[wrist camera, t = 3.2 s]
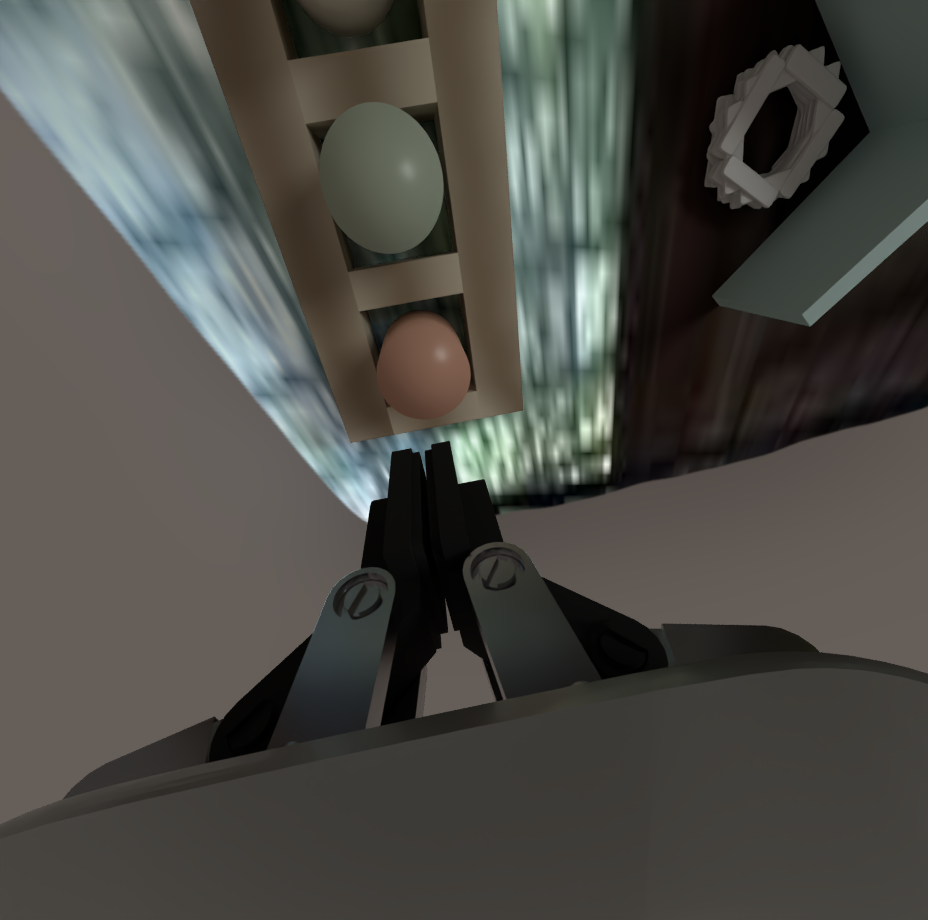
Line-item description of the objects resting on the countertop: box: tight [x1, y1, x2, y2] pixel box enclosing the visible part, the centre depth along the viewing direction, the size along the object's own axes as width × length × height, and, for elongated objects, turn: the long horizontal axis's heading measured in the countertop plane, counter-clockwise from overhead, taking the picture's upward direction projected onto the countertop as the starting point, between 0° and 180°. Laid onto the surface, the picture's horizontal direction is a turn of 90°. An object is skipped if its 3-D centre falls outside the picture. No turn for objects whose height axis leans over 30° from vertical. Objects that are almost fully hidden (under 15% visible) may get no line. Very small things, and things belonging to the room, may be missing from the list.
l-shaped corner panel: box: [704, 0, 928, 326], centre depth 19 cm, size 12×12×8 cm
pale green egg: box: [319, 102, 444, 254], centre depth 17 cm, size 5×5×5 cm
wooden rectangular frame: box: [190, 0, 523, 443], centre depth 19 cm, size 12×26×3 cm, turn 9°
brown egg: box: [376, 310, 471, 420], centre depth 21 cm, size 5×5×5 cm
